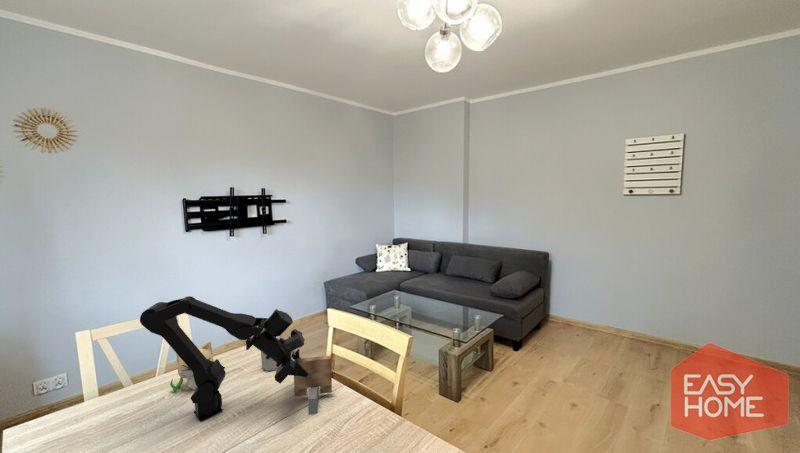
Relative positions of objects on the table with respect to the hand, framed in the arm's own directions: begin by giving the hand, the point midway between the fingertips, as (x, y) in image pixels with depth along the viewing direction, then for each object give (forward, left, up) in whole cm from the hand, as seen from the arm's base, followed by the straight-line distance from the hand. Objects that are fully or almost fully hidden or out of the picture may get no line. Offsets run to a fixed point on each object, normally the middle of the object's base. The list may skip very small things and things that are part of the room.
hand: (307, 373), depth 108 cm
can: (+1, +28, -9) cm, 30 cm away
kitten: (-23, +37, -9) cm, 45 cm away
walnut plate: (+1, -1, -7) cm, 7 cm away
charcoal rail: (+1, -1, -9) cm, 9 cm away
